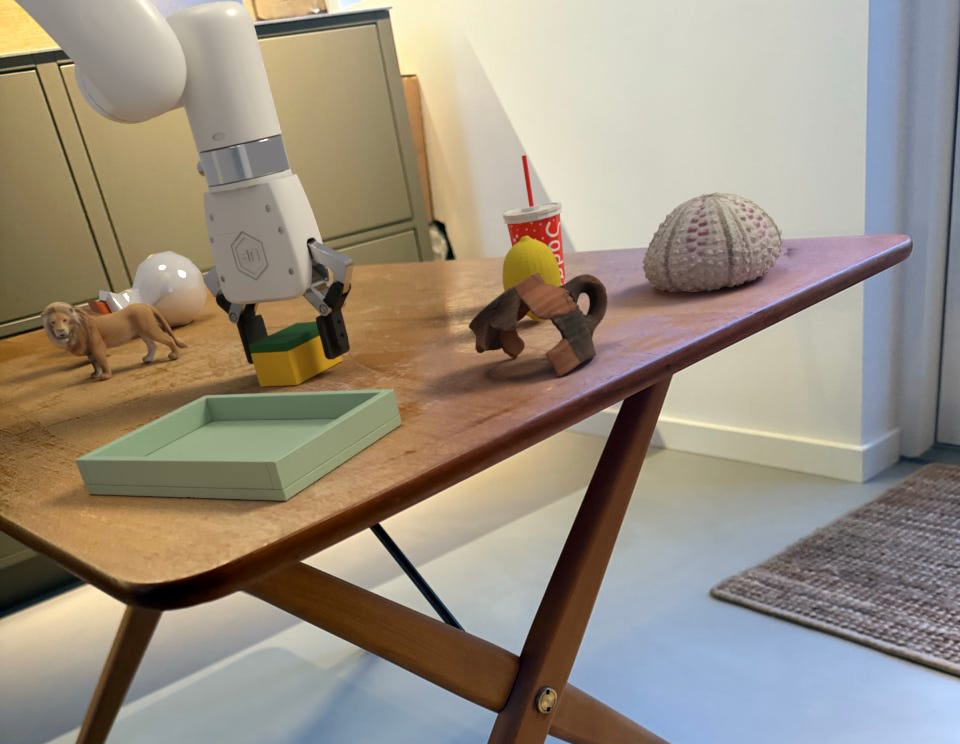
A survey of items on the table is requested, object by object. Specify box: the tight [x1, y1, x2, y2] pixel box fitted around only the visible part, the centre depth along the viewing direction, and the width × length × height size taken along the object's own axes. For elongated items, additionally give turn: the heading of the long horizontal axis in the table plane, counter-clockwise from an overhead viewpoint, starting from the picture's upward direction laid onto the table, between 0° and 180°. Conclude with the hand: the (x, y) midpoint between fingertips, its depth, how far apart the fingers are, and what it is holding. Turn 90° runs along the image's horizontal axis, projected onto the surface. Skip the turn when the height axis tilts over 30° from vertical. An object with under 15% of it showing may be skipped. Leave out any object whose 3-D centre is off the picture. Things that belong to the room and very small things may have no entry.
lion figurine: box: [40, 301, 189, 381], centre depth 116 cm, size 15×5×9 cm, turn 126°
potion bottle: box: [86, 250, 209, 329], centre depth 136 cm, size 9×10×15 cm
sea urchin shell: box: [642, 191, 785, 293], centre depth 100 cm, size 13×14×8 cm
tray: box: [74, 388, 403, 502], centre depth 78 cm, size 20×15×3 cm
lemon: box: [502, 236, 561, 323], centre depth 99 cm, size 6×6×8 cm
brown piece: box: [468, 273, 609, 378], centre depth 86 cm, size 12×10×8 cm
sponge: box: [249, 321, 343, 388], centre depth 99 cm, size 5×8×4 cm, turn 151°
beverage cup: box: [502, 154, 567, 286], centre depth 107 cm, size 6×6×14 cm
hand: (298, 357), depth 99 cm, fingers open, 9 cm apart
